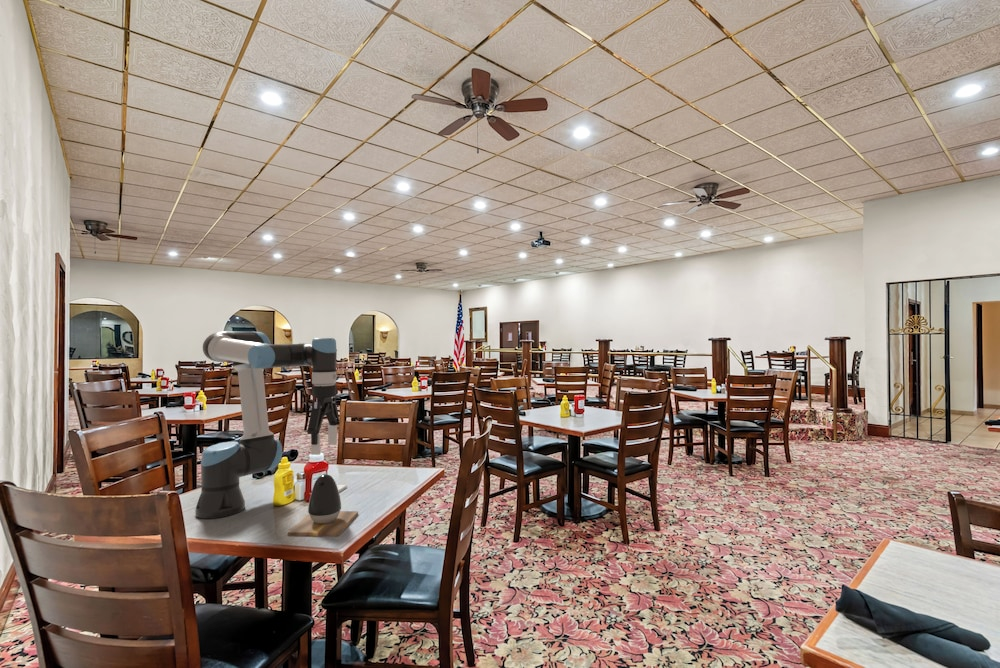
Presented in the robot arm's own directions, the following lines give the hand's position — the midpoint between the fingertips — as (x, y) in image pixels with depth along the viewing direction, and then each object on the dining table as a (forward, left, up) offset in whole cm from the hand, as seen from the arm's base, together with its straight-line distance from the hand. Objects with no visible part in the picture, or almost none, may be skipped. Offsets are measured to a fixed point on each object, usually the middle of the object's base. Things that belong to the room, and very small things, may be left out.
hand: (324, 449), depth 156 cm
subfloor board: (0, 0, -25) cm, 25 cm away
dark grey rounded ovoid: (0, 0, -24) cm, 24 cm away
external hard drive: (-11, +32, -25) cm, 43 cm away
